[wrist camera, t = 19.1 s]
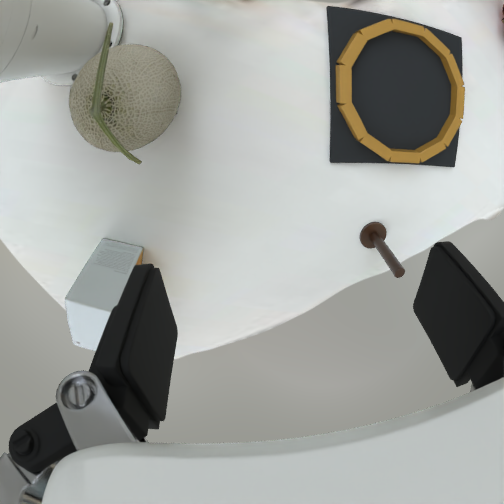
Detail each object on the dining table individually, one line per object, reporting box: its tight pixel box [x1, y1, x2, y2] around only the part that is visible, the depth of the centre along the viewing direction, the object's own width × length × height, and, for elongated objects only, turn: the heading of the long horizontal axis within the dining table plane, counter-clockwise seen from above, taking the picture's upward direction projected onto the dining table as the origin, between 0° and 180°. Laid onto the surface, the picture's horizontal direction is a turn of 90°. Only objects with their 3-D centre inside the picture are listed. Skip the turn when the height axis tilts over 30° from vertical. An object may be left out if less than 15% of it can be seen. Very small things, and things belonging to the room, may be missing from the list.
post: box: [360, 222, 405, 278], centre depth 36 cm, size 4×4×9 cm
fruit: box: [69, 22, 181, 165], centre depth 22 cm, size 10×12×15 cm
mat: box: [327, 6, 462, 167], centre depth 28 cm, size 19×19×1 cm
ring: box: [336, 19, 465, 163], centre depth 28 cm, size 18×18×1 cm
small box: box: [65, 238, 143, 351], centre depth 35 cm, size 8×6×13 cm
